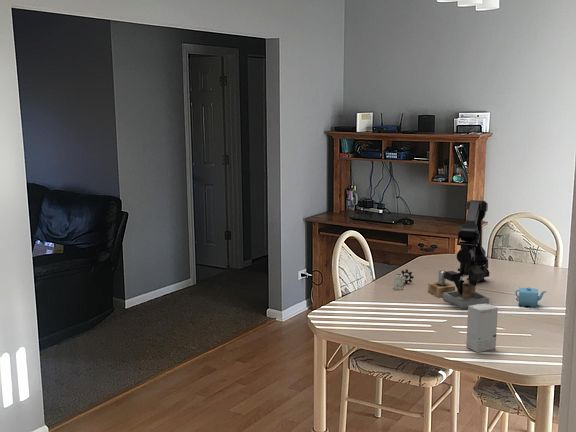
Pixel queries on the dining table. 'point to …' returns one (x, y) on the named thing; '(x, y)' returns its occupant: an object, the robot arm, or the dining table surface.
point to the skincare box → (482, 327)
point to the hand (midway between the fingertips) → (465, 294)
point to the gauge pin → (441, 278)
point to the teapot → (528, 296)
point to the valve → (402, 279)
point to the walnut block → (467, 291)
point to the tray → (464, 303)
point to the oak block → (440, 289)
